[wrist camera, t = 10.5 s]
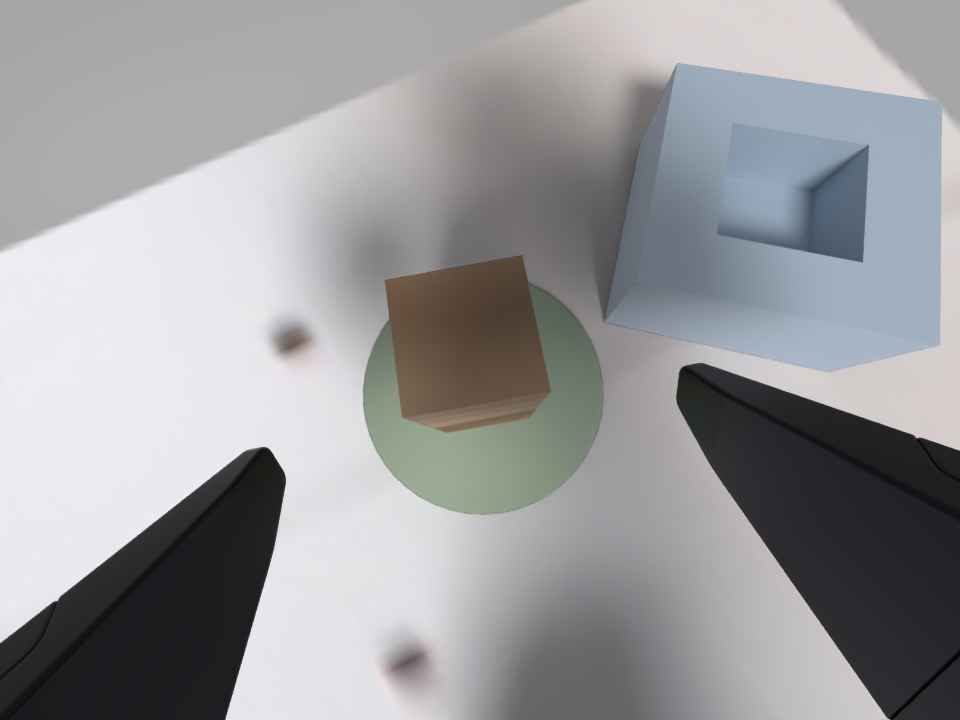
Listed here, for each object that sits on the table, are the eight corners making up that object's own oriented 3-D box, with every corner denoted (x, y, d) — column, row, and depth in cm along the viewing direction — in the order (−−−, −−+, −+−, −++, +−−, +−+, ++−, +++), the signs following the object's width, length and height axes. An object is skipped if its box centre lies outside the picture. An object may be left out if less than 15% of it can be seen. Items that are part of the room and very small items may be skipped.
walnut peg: (528, 418, 19) (551, 391, 10) (447, 433, 19) (401, 417, 10) (512, 341, 20) (521, 255, 11) (435, 354, 20) (384, 280, 11)
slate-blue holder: (828, 372, 19) (939, 345, 14) (604, 322, 20) (636, 281, 15) (841, 181, 21) (941, 102, 17) (639, 146, 23) (677, 63, 18)
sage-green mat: (509, 568, 18) (509, 571, 18) (318, 413, 20) (314, 412, 20) (647, 362, 20) (650, 360, 19) (459, 239, 22) (458, 235, 21)
